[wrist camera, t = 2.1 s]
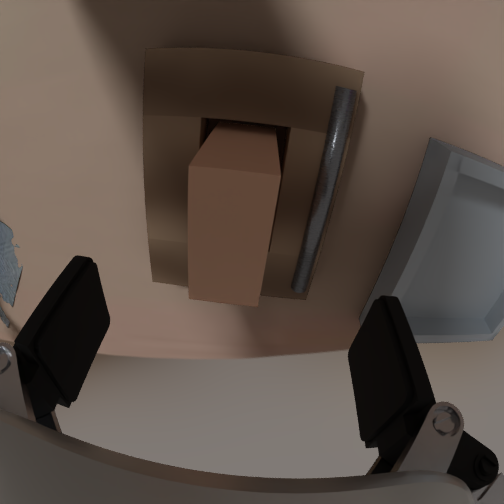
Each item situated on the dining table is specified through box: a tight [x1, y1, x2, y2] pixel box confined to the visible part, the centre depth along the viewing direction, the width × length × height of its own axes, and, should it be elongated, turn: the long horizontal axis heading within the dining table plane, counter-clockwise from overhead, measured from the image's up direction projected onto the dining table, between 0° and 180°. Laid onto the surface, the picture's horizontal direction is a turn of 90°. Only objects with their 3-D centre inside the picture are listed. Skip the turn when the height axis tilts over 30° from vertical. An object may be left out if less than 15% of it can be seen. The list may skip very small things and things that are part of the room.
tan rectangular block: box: [188, 122, 281, 307], centre depth 14 cm, size 6×3×7 cm, turn 173°
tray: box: [359, 137, 504, 343], centre depth 18 cm, size 15×15×2 cm
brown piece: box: [143, 48, 364, 300], centre depth 16 cm, size 14×10×2 cm
